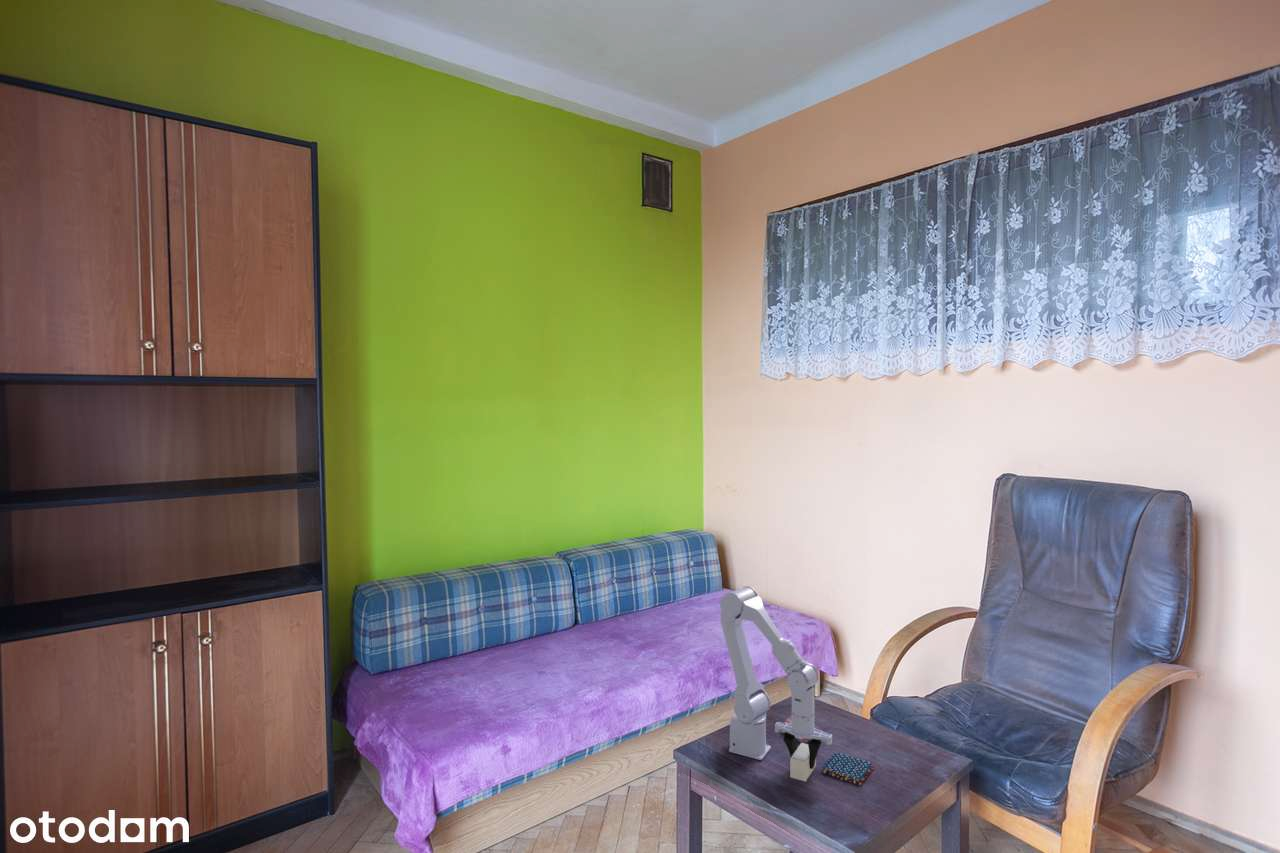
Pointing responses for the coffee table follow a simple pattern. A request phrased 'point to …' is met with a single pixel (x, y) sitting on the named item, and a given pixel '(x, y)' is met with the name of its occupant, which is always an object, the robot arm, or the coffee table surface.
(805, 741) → the pink curved figurine
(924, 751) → the coffee table surface
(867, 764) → the woven mat
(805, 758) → the painted block
